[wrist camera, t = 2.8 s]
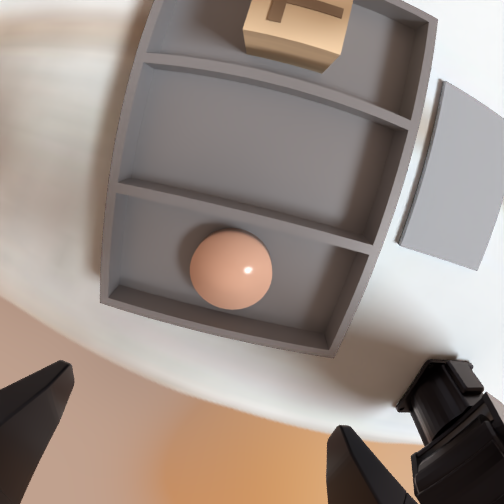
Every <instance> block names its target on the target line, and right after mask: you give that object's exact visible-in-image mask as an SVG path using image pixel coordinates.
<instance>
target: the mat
mask: <svg viewBox="0 0 504 504" xmlns="http://www.w3.org/2000/svg"><path fill="white" fill-rule="evenodd" d="M503 197H504V119H503V118H502V117H501V116H499V115H498V114H497V113H495V112H494V111H492V110H491V109H490V108H488V107H487V106H485V105H484V104H482V103H481V102H479V101H478V100H476V99H475V98H473V97H472V96H470V95H468V94H467V93H465V92H464V91H462V90H460V89H459V88H457V87H455V86H454V85H452V84H450V83H449V82H447V81H444V82H443V85H442V91H441V96H440V101H439V106H438V111H437V116H436V120H435V124H434V129H433V133H432V137H431V141H430V145H429V149H428V153H427V157H426V160H425V164H424V167H423V171H422V174H421V178H420V181H419V185H418V188H417V191H416V194H415V197H414V201H413V204H412V207H411V210H410V213H409V216H408V219H407V221H406V224H405V227H404V230H403V233H402V236H401V238H400V241H399V245H400V246H402V247H405V248H408V249H412V250H415V251H418V252H421V253H424V254H427V255H431V256H434V257H437V258H440V259H443V260H446V261H449V262H452V263H455V264H458V265H461V266H464V267H467V268H470V269H473V270H476V271H477V270H478V268H479V265H480V263H481V261H482V258H483V256H484V253H485V250H486V248H487V245H488V243H489V240H490V237H491V234H492V231H493V229H494V226H495V223H496V220H497V217H498V213H499V210H500V207H501V204H502V200H503Z"/></svg>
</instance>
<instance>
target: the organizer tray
mask: <svg viewBox="0 0 504 504" xmlns="http://www.w3.org/2000/svg"><path fill="white" fill-rule="evenodd" d="M251 1H252V0H154V2H153V5H152V8H151V10H150V13H149V16H148V19H147V22H146V24H145V27H144V30H143V33H142V36H141V39H140V43H139V46H138V49H137V52H136V56H135V59H134V63H133V66H132V70H131V73H130V77H129V81H128V85H127V89H126V93H125V97H124V101H123V105H122V110H121V114H120V119H119V124H118V129H117V134H116V139H115V144H114V150H113V156H112V162H111V168H110V175H109V182H108V190H107V198H106V207H105V216H104V227H103V239H102V255H101V277H100V303H102V304H105V305H108V306H112V307H115V308H118V309H121V310H124V311H128V312H131V313H134V314H138V315H141V316H145V317H148V318H152V319H155V320H159V321H162V322H166V323H170V324H173V325H177V326H181V327H185V328H189V329H192V330H196V331H200V332H205V333H209V334H213V335H217V336H221V337H226V338H230V339H234V340H239V341H244V342H248V343H253V344H258V345H263V346H268V347H273V348H278V349H283V350H288V351H294V352H299V353H305V354H311V355H317V356H323V357H329V358H334V357H335V355H336V353H337V351H338V349H339V347H340V345H341V343H342V340H343V338H344V336H345V334H346V332H347V330H348V328H349V325H350V323H351V321H352V319H353V317H354V314H355V312H356V310H357V308H358V305H359V303H360V301H361V298H362V296H363V294H364V291H365V289H366V286H367V284H368V282H369V279H370V277H371V274H372V272H373V269H374V267H375V264H376V261H377V259H378V256H379V254H380V251H381V248H382V246H383V243H384V240H385V237H386V235H387V232H388V229H389V226H390V223H391V220H392V217H393V215H394V212H395V209H396V205H397V202H398V199H399V196H400V193H401V190H402V187H403V183H404V180H405V177H406V173H407V170H408V166H409V163H410V159H411V156H412V152H413V148H414V144H415V140H416V136H417V132H418V128H419V124H420V120H421V116H422V111H423V107H424V102H425V97H426V92H427V87H428V82H429V77H430V71H431V65H432V59H433V53H434V46H435V39H436V31H437V23H438V19H436V18H435V17H433V16H431V15H429V14H427V13H426V12H424V11H422V10H420V9H418V8H416V7H414V6H412V5H410V4H408V3H406V2H404V1H402V0H353V4H352V8H351V12H350V17H349V21H348V25H347V30H346V34H345V38H344V42H343V46H342V51H341V55H340V56H339V57H338V58H337V59H336V60H335V61H334V62H333V63H332V64H331V65H330V66H329V67H328V68H327V69H326V70H325V71H324V72H323V73H322V74H321V73H318V72H315V71H311V70H308V69H304V68H301V67H297V66H294V65H290V64H286V63H282V62H278V61H274V60H270V59H266V58H261V57H257V56H252V55H247V53H246V47H245V41H244V35H243V26H244V23H245V20H246V17H247V14H248V11H249V8H250V4H251ZM225 228H237V229H242V230H245V231H248V232H250V233H252V234H254V235H255V236H257V237H258V238H259V239H260V240H261V241H262V242H263V243H264V244H265V246H266V247H267V249H268V251H269V254H270V257H271V262H272V280H271V284H270V287H269V289H268V291H267V292H266V294H265V295H264V296H263V297H262V298H261V299H260V300H259V301H258V302H256V303H255V304H253V305H251V306H249V307H246V308H242V309H235V310H230V309H223V308H219V307H216V306H214V305H212V304H210V303H208V302H207V301H206V300H204V299H203V298H202V297H201V296H200V295H199V294H198V292H197V291H196V289H195V288H194V286H193V284H192V281H191V277H190V263H191V259H192V257H193V254H194V252H195V251H196V249H197V247H198V246H199V244H200V243H201V242H202V240H203V239H204V238H205V237H207V236H208V235H209V234H211V233H213V232H215V231H217V230H220V229H225Z"/></svg>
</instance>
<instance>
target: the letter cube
mask: <svg viewBox="0 0 504 504" xmlns="http://www.w3.org/2000/svg"><path fill="white" fill-rule="evenodd" d="M352 4H353V0H252V1H251V4H250V8H249V11H248V14H247V17H246V20H245V23H244V26H243V35H244V41H245V47H246V53H247V55H252V56H257V57H261V58H266V59H270V60H274V61H278V62H282V63H286V64H290V65H294V66H297V67H301V68H304V69H308V70H311V71H315V72H318V73H321V74H322V73H323V72H324V71H325V70H326V69H327V68H328V67H329V66H330V65H331V64H332V63H333V62H334V61H335V60H336V59H337V58H338V57H339V56H340V55H341V51H342V46H343V42H344V38H345V34H346V30H347V25H348V21H349V17H350V12H351V8H352Z"/></svg>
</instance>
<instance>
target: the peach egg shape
mask: <svg viewBox="0 0 504 504" xmlns="http://www.w3.org/2000/svg"><path fill="white" fill-rule="evenodd" d="M190 277H191V281H192V284H193V286H194V288H195V289H196V291H197V292H198V294H199V295H200V296H201V297H202V298H203V299H204V300H206V301H207V302H208V303H210V304H212V305H214V306H216V307H219V308H223V309H230V310H235V309H242V308H246V307H249V306H251V305H253V304H255V303H256V302H258V301H259V300H260V299H261V298H262V297H263V296H264V295H265V294H266V292H267V291H268V289H269V287H270V284H271V280H272V262H271V257H270V254H269V251H268V249H267V247H266V246H265V244H264V243H263V242H262V241H261V240H260V239H259V238H258V237H257V236H255V235H254V234H252V233H250V232H248V231H245V230H242V229H237V228H225V229H220V230H217V231H215V232H213V233H211V234H209V235H208V236H207V237H205V238H204V239H203V240H202V242H201V243H200V244H199V246H198V247H197V249H196V251H195V252H194V254H193V257H192V259H191V263H190Z"/></svg>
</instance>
